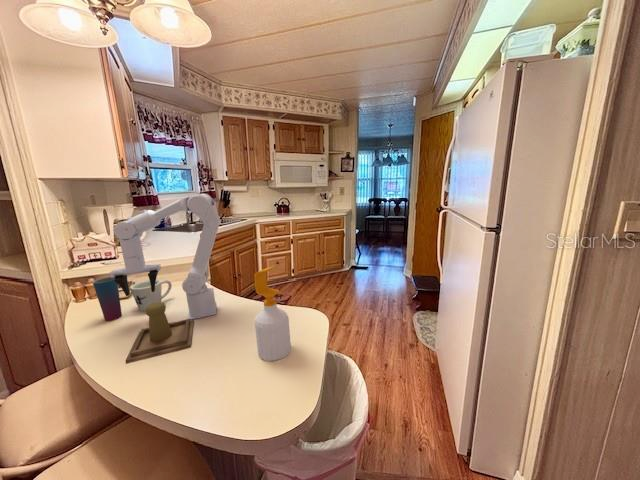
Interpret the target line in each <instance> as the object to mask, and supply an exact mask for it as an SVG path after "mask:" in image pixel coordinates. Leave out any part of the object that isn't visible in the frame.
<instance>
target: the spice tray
mask: <svg viewBox="0 0 640 480" xmlns="http://www.w3.org/2000/svg"><path fill="white" fill-rule="evenodd" d="M168 323H169V326H170V329H171V332H172V335H171V336H170V337H169V338H168V339H166V340H164V341H160V342H151V341H150V331H149V327H144V328H141V330H140V331H139V332H138V334H137V336H136V338H135V340H134V342H133V344H132V346H131V349H130V350H129V353H128V355H127V356H126V359H125V363H126V364H128V363H133V362H137V361H139V360H140V361H141V360H144V359H148V358H153V357H156V356H160V355H164V354H169V353H172V352H177V351H181V350H184V349H185V350H186V349H189V348H192V340H193V332H194V324H195V322H194V319H191V320H190V319H188V318H187V319H182V320H177V321H171V322H168Z"/></svg>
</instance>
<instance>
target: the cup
mask: <svg viewBox="0 0 640 480" xmlns="http://www.w3.org/2000/svg"><path fill="white" fill-rule="evenodd" d="M114 279H115V277H113V278H111V276H105V277H101V278H97V279H95V280H93V281H92V284H93V289H94V291H95V293H96V297H97V301H98V302H99V305H100V309H101V312H102V315H103V318H104V321H106V322H112V321H115V320H118V319H120V318H122V317H123V313H122V305H121V297H120V291H119V285H118V284H117V283H116V282H115V281H114Z"/></svg>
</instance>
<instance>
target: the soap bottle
mask: <svg viewBox="0 0 640 480" xmlns="http://www.w3.org/2000/svg"><path fill="white" fill-rule="evenodd" d="M276 268H277V267H276V266H275V265H273V266H269V267H266V268H264V269H260V270H259V271H256V272H255V273H254V276H253V277H254V278H253V280H254V288H255V293H256V294H257V295H259V296H263V297H264V299H265V300H264V301H263V308H264V309H262V311H260V312H259V313H258V314H257V315H256V316H255V319H254V327H255V328H254V329H255V338H256V347H257V355H258V356H259V358H260V359H262V360H264V361H268V362H273V361H278V360H281V359H283V358H285V357H288V355H289V353H290V352H291V349H292V346H291V344H292V343H291V332H290V320H289V318H290V317H289V315H288V314H287V312H286V311H285V310H283V309H282V308H280V307H278V306H277V300H276V299H274V297H275V296H276V295H277V294H279V293H280V290H279V289H276V288H271V287H269V286H268V282H267V281H268V280H267V279H268V278H267V272H269V271H271V270H273V269H276Z"/></svg>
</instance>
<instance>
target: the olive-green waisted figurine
mask: <svg viewBox="0 0 640 480" xmlns="http://www.w3.org/2000/svg"><path fill="white" fill-rule="evenodd" d="M165 312H166V305H165V303H164V302H156V303H152V304H150V305H148V306H147V307H146V311H145V314H146V315H147V317H148V320H149V321H148V323H149V324H148V326H149V331H150V341H151V342H160V341H164V340H166V339H168V338H169V337H170V336H171V335H172V332H171V329H170V326H169V323H170V322H169V320H168V318H167V316H166V313H165Z"/></svg>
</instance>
